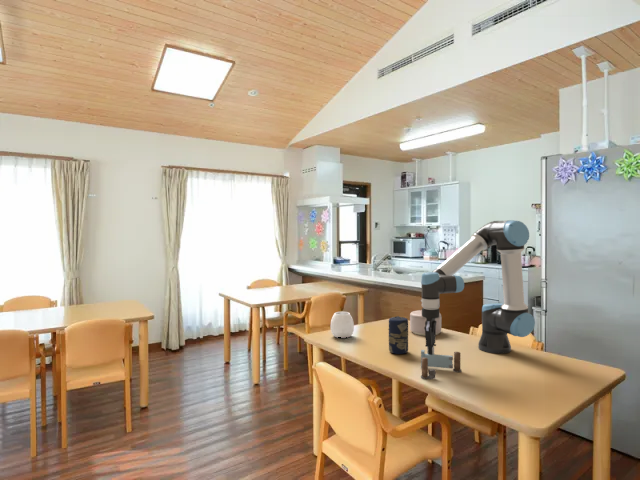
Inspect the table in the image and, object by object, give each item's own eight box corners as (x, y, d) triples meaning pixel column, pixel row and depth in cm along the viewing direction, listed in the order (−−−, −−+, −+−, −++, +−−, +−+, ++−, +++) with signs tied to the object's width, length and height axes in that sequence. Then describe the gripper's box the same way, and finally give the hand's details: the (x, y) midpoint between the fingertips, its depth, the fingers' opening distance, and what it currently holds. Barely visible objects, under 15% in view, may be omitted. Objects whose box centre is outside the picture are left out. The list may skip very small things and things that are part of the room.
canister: (393, 356, 196) (393, 318, 196) (385, 350, 205) (385, 314, 205) (411, 354, 199) (411, 317, 198) (402, 348, 208) (402, 313, 207)
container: (413, 336, 232) (413, 316, 231) (407, 328, 250) (407, 309, 249) (445, 336, 231) (445, 316, 231) (437, 328, 249) (437, 309, 249)
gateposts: (457, 369, 177) (457, 350, 177) (464, 372, 173) (464, 353, 173) (419, 377, 168) (418, 357, 168) (425, 380, 164) (425, 360, 164)
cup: (327, 334, 237) (327, 311, 237) (348, 332, 241) (348, 310, 241) (335, 340, 224) (335, 316, 224) (357, 338, 228) (357, 314, 228)
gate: (452, 369, 176) (452, 352, 176) (452, 371, 174) (452, 353, 174) (421, 366, 180) (421, 349, 180) (421, 368, 178) (421, 351, 178)
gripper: (425, 304, 186) (425, 355, 187) (418, 309, 175) (418, 364, 176) (442, 305, 182) (442, 357, 183) (436, 311, 171) (436, 366, 172)
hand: (430, 360), depth 180 cm, fingers closed
